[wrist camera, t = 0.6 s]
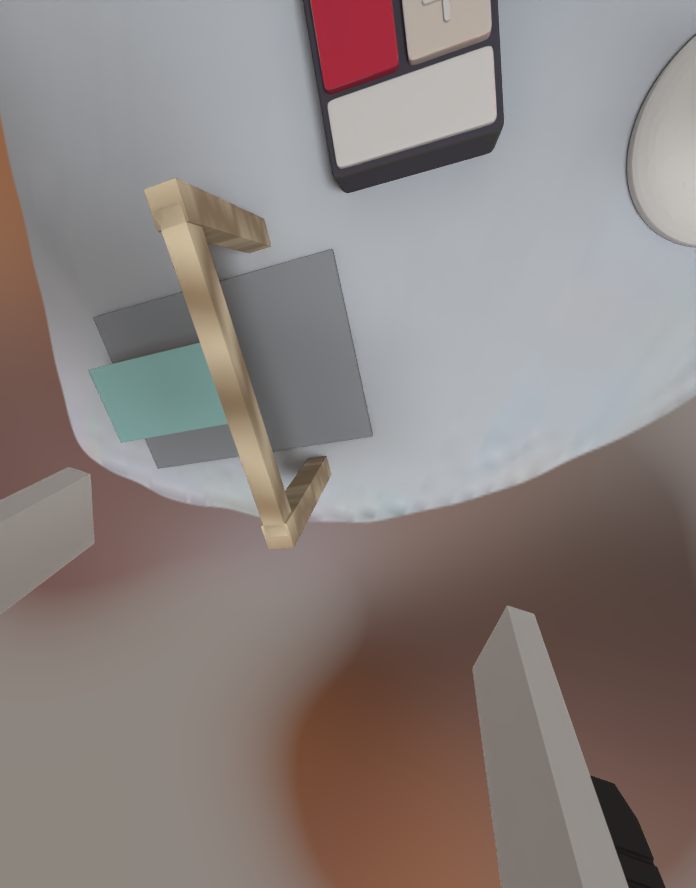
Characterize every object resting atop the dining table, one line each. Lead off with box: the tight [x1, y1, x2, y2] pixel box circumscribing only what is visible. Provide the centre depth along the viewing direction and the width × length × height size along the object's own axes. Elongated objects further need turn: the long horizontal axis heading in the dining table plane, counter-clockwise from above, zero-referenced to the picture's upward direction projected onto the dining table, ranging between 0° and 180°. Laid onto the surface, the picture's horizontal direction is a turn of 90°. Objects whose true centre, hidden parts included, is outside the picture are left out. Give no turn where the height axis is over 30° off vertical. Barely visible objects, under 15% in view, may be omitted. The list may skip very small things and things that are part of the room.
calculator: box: [303, 0, 504, 193], centre depth 23 cm, size 11×4×15 cm
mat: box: [93, 249, 373, 469], centre depth 35 cm, size 16×24×1 cm, turn 103°
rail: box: [144, 178, 331, 549], centre depth 29 cm, size 23×2×12 cm, turn 13°
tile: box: [88, 343, 228, 443], centre depth 35 cm, size 7×12×4 cm, turn 103°
